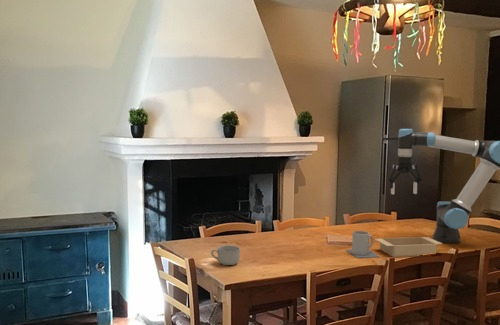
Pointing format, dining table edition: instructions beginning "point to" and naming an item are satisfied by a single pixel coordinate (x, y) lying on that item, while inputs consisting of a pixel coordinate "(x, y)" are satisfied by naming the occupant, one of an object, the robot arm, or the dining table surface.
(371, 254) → the coaster mat
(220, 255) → the teacup
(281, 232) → the dining table surface
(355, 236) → the mug
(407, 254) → the beige tray
